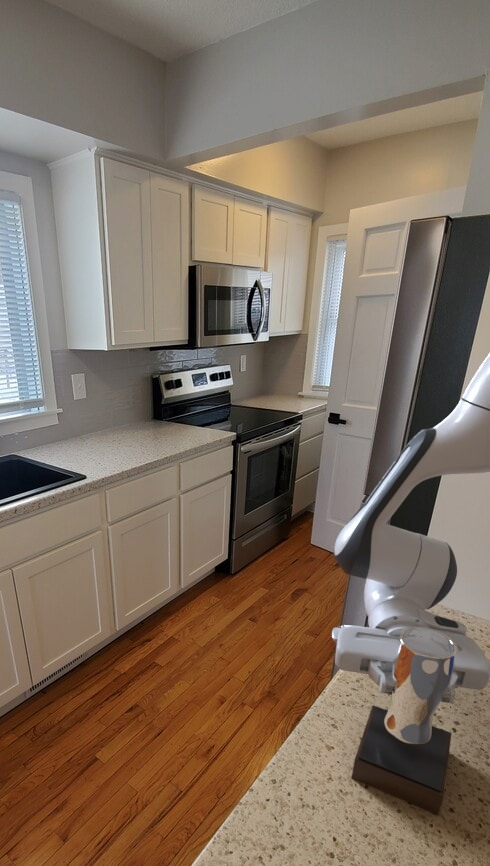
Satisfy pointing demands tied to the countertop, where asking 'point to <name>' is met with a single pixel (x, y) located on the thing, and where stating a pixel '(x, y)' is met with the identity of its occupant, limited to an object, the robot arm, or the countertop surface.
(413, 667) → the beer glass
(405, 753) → the riser
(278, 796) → the countertop surface
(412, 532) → the robot arm
